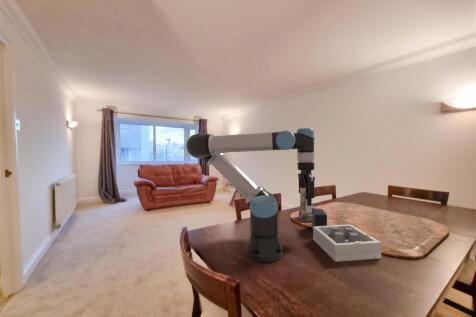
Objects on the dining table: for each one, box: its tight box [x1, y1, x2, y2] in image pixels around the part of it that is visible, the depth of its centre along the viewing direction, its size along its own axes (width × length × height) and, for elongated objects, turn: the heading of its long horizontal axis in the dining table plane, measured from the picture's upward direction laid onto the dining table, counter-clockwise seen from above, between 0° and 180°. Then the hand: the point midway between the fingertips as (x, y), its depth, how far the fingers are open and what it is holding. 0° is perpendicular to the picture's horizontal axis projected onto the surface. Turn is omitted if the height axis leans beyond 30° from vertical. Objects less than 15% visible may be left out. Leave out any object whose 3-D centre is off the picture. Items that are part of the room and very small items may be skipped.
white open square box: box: [312, 224, 382, 263], centre depth 88 cm, size 19×19×7 cm
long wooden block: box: [298, 188, 313, 223], centre depth 95 cm, size 6×6×15 cm
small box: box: [311, 208, 328, 230], centre depth 108 cm, size 11×6×10 cm, turn 168°
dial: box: [328, 227, 364, 243], centre depth 88 cm, size 13×14×6 cm
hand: (306, 210), depth 95 cm, fingers closed on long wooden block, 4 cm apart
